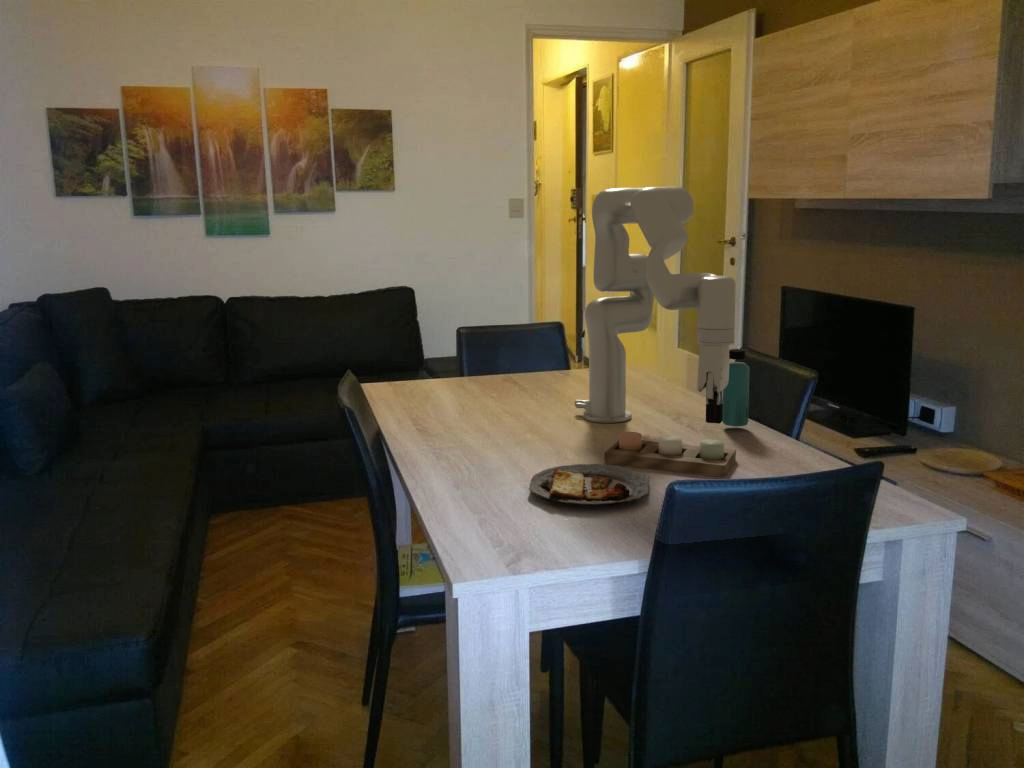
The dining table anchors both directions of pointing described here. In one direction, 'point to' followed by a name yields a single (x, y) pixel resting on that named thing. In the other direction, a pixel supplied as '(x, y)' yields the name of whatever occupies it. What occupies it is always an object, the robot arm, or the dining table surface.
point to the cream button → (670, 445)
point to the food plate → (570, 485)
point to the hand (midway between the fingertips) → (714, 422)
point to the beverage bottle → (736, 391)
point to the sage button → (712, 450)
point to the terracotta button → (630, 441)
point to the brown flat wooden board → (670, 459)
